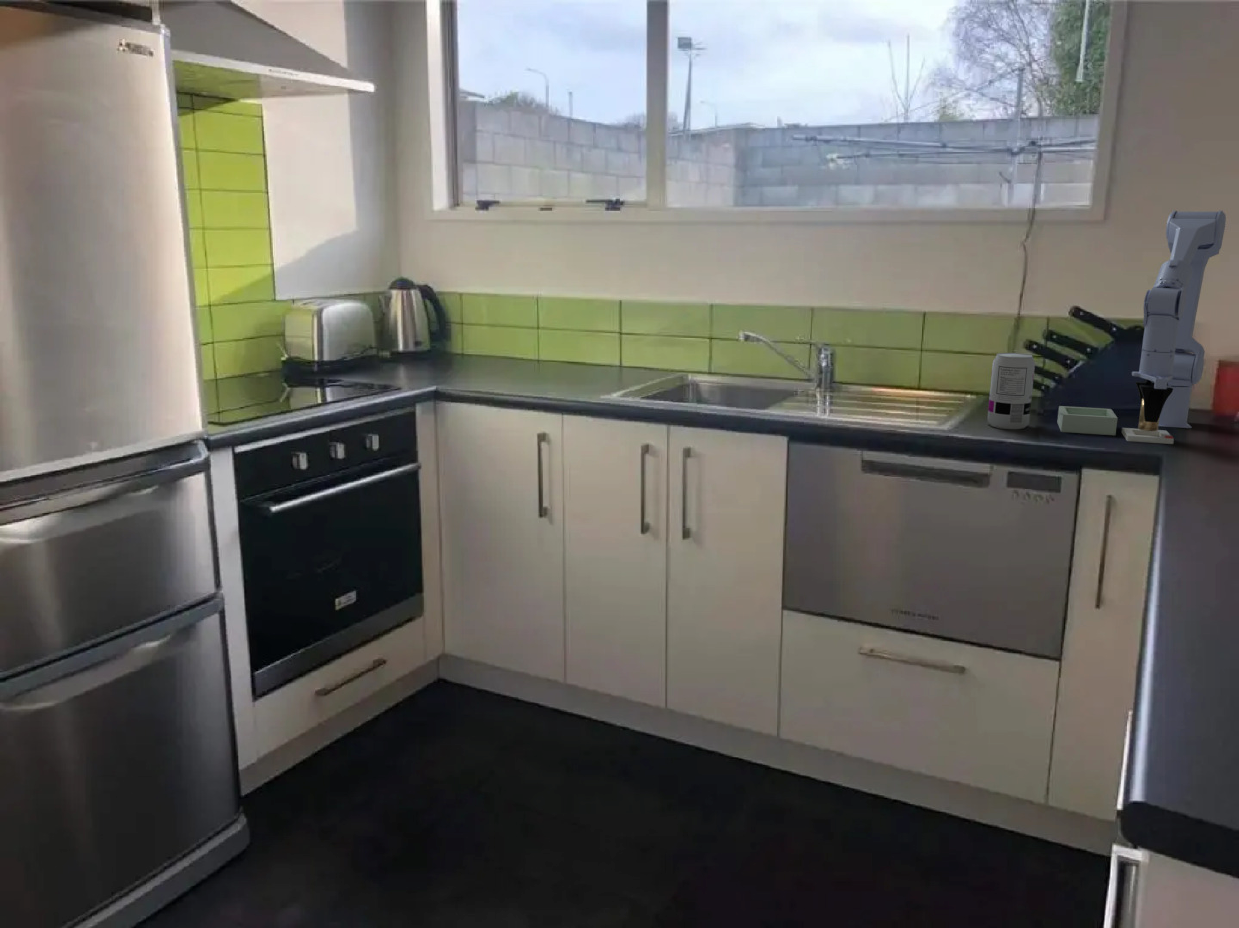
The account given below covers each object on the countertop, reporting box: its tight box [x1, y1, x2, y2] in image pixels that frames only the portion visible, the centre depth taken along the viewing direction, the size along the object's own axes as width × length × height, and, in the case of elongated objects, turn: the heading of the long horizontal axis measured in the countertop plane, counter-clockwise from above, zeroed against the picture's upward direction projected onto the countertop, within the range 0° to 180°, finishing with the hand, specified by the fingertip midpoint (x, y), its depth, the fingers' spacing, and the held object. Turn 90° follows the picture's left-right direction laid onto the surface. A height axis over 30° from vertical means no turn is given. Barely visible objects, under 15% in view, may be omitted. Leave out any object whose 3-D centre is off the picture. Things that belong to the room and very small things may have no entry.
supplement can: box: [986, 352, 1036, 430], centre depth 210 cm, size 8×8×15 cm
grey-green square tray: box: [1056, 405, 1118, 436], centre depth 207 cm, size 10×10×4 cm
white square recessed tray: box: [1121, 427, 1175, 445], centre depth 199 cm, size 8×8×2 cm
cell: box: [1137, 398, 1160, 431], centre depth 198 cm, size 4×4×6 cm
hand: (1149, 419), depth 198 cm, fingers closed on cell, 3 cm apart
